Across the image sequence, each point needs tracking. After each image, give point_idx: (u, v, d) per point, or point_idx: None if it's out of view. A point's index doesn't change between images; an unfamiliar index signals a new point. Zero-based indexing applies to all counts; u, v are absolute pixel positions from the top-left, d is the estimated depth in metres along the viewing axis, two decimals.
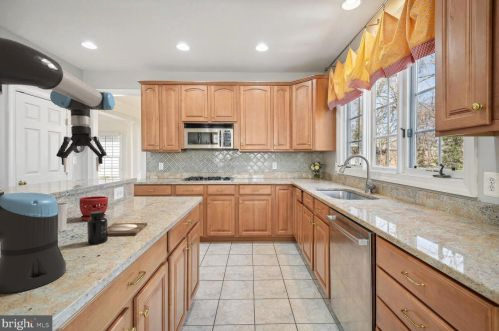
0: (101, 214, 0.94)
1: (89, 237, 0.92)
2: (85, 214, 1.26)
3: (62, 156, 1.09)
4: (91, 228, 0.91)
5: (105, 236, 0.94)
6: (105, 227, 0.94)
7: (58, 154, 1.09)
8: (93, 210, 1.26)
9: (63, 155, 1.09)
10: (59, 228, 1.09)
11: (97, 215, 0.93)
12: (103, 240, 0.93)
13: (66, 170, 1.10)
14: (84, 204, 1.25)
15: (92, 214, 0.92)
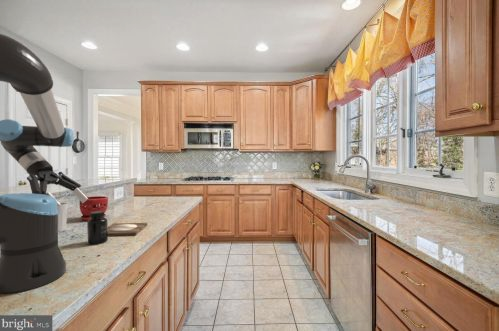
0: (101, 214, 0.94)
1: (89, 237, 0.92)
2: (85, 214, 1.26)
3: (44, 191, 0.88)
4: (91, 228, 0.91)
5: (105, 236, 0.94)
6: (105, 227, 0.94)
7: (38, 189, 0.86)
8: (93, 210, 1.26)
9: (44, 190, 0.88)
10: (59, 228, 1.09)
11: (97, 215, 0.93)
12: (103, 240, 0.93)
13: None
14: (84, 204, 1.25)
15: (92, 214, 0.92)
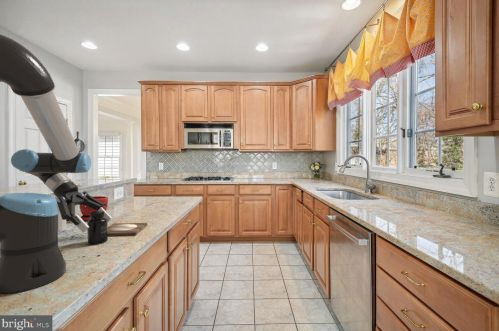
0: (101, 214, 0.94)
1: (89, 237, 0.92)
2: (85, 214, 1.26)
3: (73, 214, 0.88)
4: (91, 228, 0.91)
5: (105, 236, 0.94)
6: (105, 227, 0.94)
7: (68, 213, 0.86)
8: (93, 210, 1.26)
9: (73, 213, 0.88)
10: (59, 228, 1.09)
11: (97, 215, 0.93)
12: (103, 240, 0.93)
13: None
14: None
15: (92, 214, 0.92)
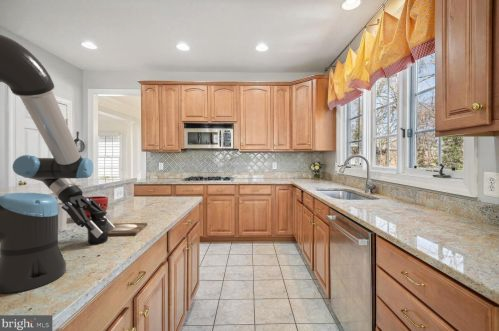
0: (101, 214, 0.94)
1: (89, 237, 0.92)
2: None
3: (87, 219, 0.90)
4: None
5: (105, 236, 0.94)
6: (105, 227, 0.94)
7: (82, 219, 0.88)
8: None
9: (86, 218, 0.90)
10: (59, 228, 1.09)
11: (97, 215, 0.93)
12: (103, 240, 0.93)
13: None
14: None
15: (92, 214, 0.92)
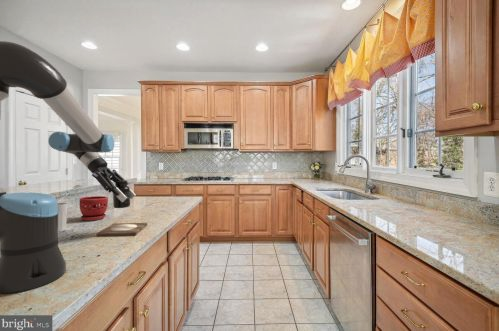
0: (125, 182, 1.08)
1: (115, 202, 1.06)
2: (85, 214, 1.26)
3: (113, 186, 1.04)
4: None
5: (128, 201, 1.09)
6: (128, 194, 1.09)
7: (109, 185, 1.03)
8: (93, 210, 1.26)
9: (113, 185, 1.04)
10: (59, 228, 1.09)
11: (121, 183, 1.07)
12: (127, 205, 1.08)
13: None
14: (84, 204, 1.25)
15: (117, 182, 1.06)
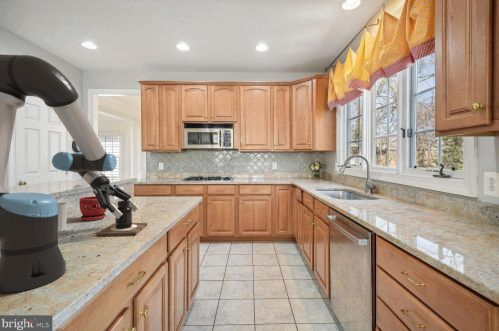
0: (127, 203, 1.09)
1: (117, 222, 1.07)
2: (85, 214, 1.26)
3: (109, 203, 1.03)
4: None
5: (130, 222, 1.10)
6: (130, 214, 1.10)
7: (105, 202, 1.01)
8: (93, 210, 1.26)
9: (109, 202, 1.03)
10: (59, 228, 1.09)
11: (124, 204, 1.08)
12: (129, 225, 1.09)
13: None
14: (84, 204, 1.25)
15: (119, 203, 1.08)
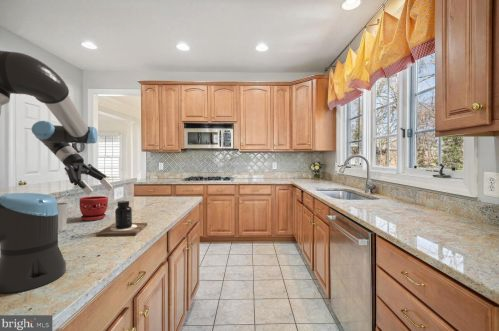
0: (127, 203, 1.09)
1: (117, 223, 1.07)
2: (85, 214, 1.26)
3: (79, 179, 1.03)
4: (119, 215, 1.07)
5: (130, 222, 1.10)
6: (130, 214, 1.10)
7: (75, 177, 1.01)
8: (93, 210, 1.26)
9: (79, 178, 1.03)
10: (59, 228, 1.09)
11: (124, 204, 1.08)
12: (129, 225, 1.09)
13: None
14: (84, 204, 1.25)
15: (119, 203, 1.08)
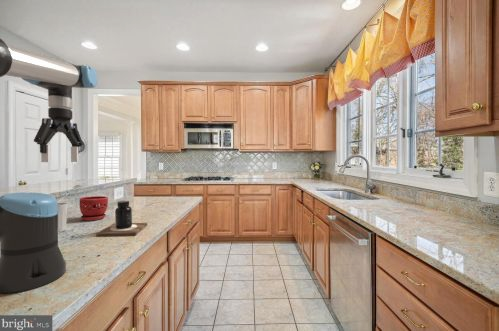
0: (127, 203, 1.09)
1: (117, 223, 1.07)
2: (85, 214, 1.26)
3: (46, 142, 0.88)
4: (119, 215, 1.07)
5: (130, 222, 1.10)
6: (130, 214, 1.10)
7: (42, 139, 0.86)
8: (93, 210, 1.26)
9: (47, 141, 0.88)
10: (59, 228, 1.09)
11: (124, 204, 1.08)
12: (129, 225, 1.09)
13: None
14: (84, 204, 1.25)
15: (119, 203, 1.08)
